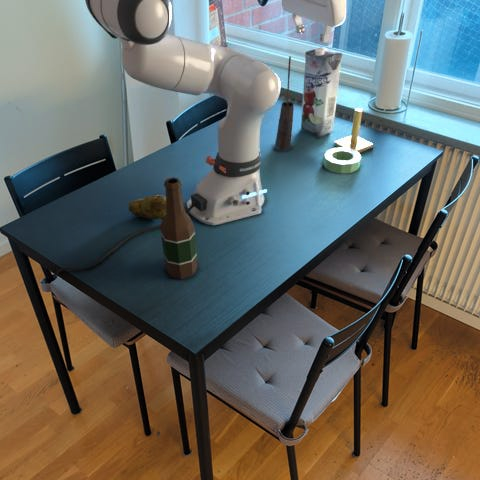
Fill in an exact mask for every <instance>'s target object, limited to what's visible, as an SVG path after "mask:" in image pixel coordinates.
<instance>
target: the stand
mask: <svg viewBox="0 0 480 480" xmlns="http://www.w3.org/2000/svg"><path fill="white" fill-rule="evenodd" d="M353 111H354V112H353V118H352V125H351V133H350V135H349V136H346V137H344V138H343V137H342V138H340V139H338V140H335V141H333V145H334V146H335V147H336V148H342V147H343V148H349V149H353V150H355V151H357V152H359V153H362V152H364V151H367V150H370V149H372V148H374V144H373V143H372V142H370V141H368V140H366V139H364V138H362V137H360V136H359V135H360V129H361V122H362V115H363V108H360V107H357V108H354V110H353Z"/></svg>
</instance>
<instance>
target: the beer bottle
mask: <svg viewBox="0 0 480 480" xmlns="http://www.w3.org/2000/svg"><path fill="white" fill-rule="evenodd" d="M182 185H183V184H182V182H181V180H180V178H178V177H168V178H166V180H165V181H164V182H163V186H164V188H165V197H166V205H167V209H166V215H165V216H164V218H163V220H161V222H160V225H161V227H160V236H161V237H160V238H161V243H162V251H163V252H162V253H163V259H164V264H165V270H166V271H167V274H169V277H171V278H173V279H174V278H175V279H179V280H184V279H188V278H191V277H193V276H194V274H195V273H196V272H197V270H198V252H197V241H196V230H195V225H194V222H193V221H192V219H191V217H190V215H189V216H188V214H187V213H186V212H187V211H186V209H185V206H184V205H185V204H184V200H183V194H182V187H181V186H182Z"/></svg>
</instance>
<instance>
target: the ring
mask: <svg viewBox="0 0 480 480" xmlns="http://www.w3.org/2000/svg"><path fill="white" fill-rule="evenodd" d="M361 162H362V156H361V154H360V152H357V151H355V150H353V149H349V148H343V147H342V148H339V147H333V148H330V149H327V150H326V151H325V152H324V154H323V159H322V165H323V167H324V169H326V170H327V171H330V172H331V173H337V174H351V173H354V172H357V171H358V170H359V169H360V167H361Z"/></svg>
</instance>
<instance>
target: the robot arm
mask: <svg viewBox="0 0 480 480" xmlns="http://www.w3.org/2000/svg"><path fill="white" fill-rule="evenodd" d="M84 1H85V5H86V8H87V10H88V12H89V14H90V16H91V17H92V18H93V20H95V22H96V23H97V24H98V25H99V26H100V27H101V28H102V29H103V30H104V32H106V33H107V34H108V36H110V38H112V39H113V40H114V39H115V40H116V39H118V40H119V41H120V44H121V53H120V54H121V55H120V56H121V57H120V58H121V64H122V67H123V69H124V72H125V73H126V74H127V75H128V76H129V77H130V78H131V79H133V80H136V81H138V82H140V83H142V84H144V85H147V86H150V87H152V88H156V89H160V90H165V91H170V92H174V93H175V92H176V93H181V94H186V95H191V96H200V95H203V94H207V95H208V94H209V95H213V96H216V97H219V98H221V99H224V100H225V101H226V104H227V110H226V115H225V116H224V117H223V118H222V119H221V120H220V121H218V124H217V127H216V128H217V129H216V130H217V131H216V132H217V153H216V156H215V158H213V157H212V156H210V155H208V156H206V158H205V163H206V164H208V165H209V166H212V168H211V169H210V170H209V172H208V173H207V174H206V175H205V176H203V178H202V179H201V180H200V181H199V182H198V183H197V184H196V186H195V189H194V193H193V194H191V195H190V199H189V200H187V201H186V209H187V210H186V211H185V212H186V213H187V214H188V216H189V217H190V215H191V216H192V217H193V218H195V219H196V220H198V221H199V222H200V223H202V224H205V225H207V226H213V227H214V226H219V225H222V224H226V223H229V222H233V221H237V220H242V219H245V218H249V217H253V216H256V215H260V214H261V213H262V206H263V205H264V203H265V195H264V194H265V193H266V194H267V193H268V189H267V188H266V189H263V187H262V182H261V181H262V180H261V171H260V170H261V167H262V153H261V150H260V146H261V145H260V144H261V127H262V122H263V119H264V116H265V114H266V113H267V112H268V111H270V110H271V109H272V108H273V107H274V106H275V105H276V103H277V101H278V100H279V97H280V94H281V80H280V78H279V76H278V74H277V73H276V72H275V71H274V70H273V69H272V68H270V67H269V66H268V65H267V64H266V63H264V62H262V61H260V60H258V59H255V58H254V57H251V56H249V55H246V54H244V53H242V52H240V51H238V50H235V49H233V48H230V47H226V46H222V45H217V44H211V43H203V42H199V41H196V40H192V39H189V38H185V37H182V36H177V35H174V34H171V33H168V32H169V29H170V28H171V27H170V26H171V25H172V24H171V23H172V15H173V14H172V13H173V11H172V3H171V2H172V0H84ZM281 6H282V7H281V8H282V9H283V11H284V12H286V13H290V14H291V16H292V17H291V19H292V21H293V23H294V26H295V33H297V34H299V35H302V34H304V33H305V24H303V20H302V18H305V19H307V20H310V21H312V22H315V23H318V24H322V28H323V32H322V33H320V34H319V42H320V43H323V44H326V43H328V42H330V34H331V32H332V30H333V29H334V28H336V27H338V26H341V25H343V23H344V22H345V21H346V16H347V0H281ZM156 229H161V224H158V225H157V224H156V225H154V226H150V227H146V228H143V229H140V230H137V231H135V232H133V233H131V234H129V235H127V236H125V237H124V238H123V239H121V241H120V242H118V243H117V244H116V245H115V246H113V247H112V248H111V249H110V250H108V251H107V252H105V253H104V254H103V255H102V256H101V257H100V258H98V259H97V260H96V261H94V262H92V263H90V264H87V265H85V266H63V267H60V268H59V269H57V270H56V271H55V272H54V274H53V277H54V276H58V275H59V274H60V273H61V272H62V271H68V270H70V271H72V270H75V271H83V270H88V269H90V268H92V267H95V266H96V265H98V264H100V263H101V262H102V261H103V260H105V259H106V258H107V257H108V256H109V255H110V254H112V253H113V252H114V251H116V250H118V248H119V247H121V246H122V245H123V244H124V243H126V241H128V240H130V239H132V238H133V237H135V236H137V235H140V234H143V233H146V232H149V231H152V230H156Z"/></svg>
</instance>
